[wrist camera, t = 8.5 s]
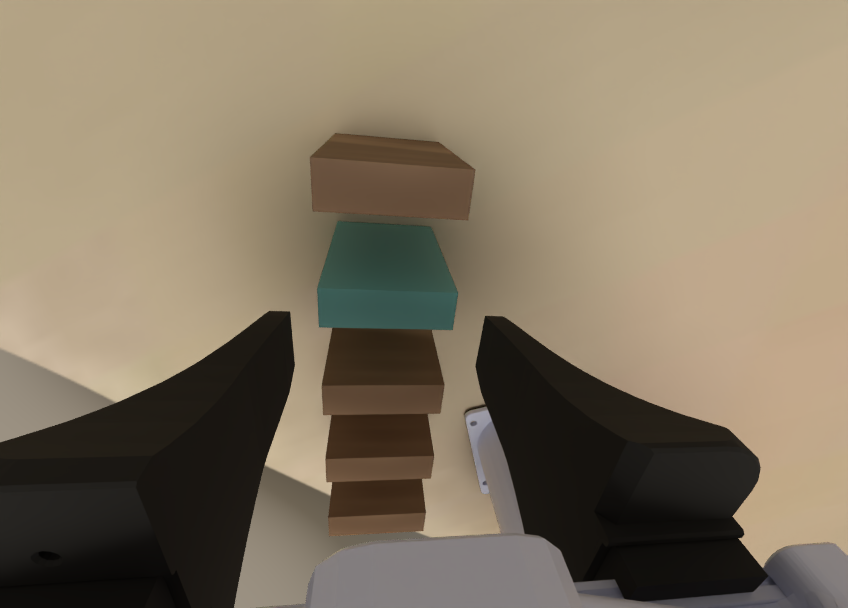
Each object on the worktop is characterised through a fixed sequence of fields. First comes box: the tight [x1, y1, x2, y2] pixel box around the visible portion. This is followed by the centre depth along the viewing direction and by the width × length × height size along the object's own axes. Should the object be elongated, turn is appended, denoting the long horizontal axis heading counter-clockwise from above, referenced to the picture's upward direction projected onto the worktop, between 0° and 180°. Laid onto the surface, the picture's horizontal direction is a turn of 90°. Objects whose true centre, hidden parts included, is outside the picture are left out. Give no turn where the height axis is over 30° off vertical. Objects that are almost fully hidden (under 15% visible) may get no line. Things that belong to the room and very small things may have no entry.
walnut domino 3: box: [325, 414, 434, 482], centre depth 22 cm, size 2×5×8 cm, turn 85°
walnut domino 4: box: [328, 479, 426, 536], centre depth 24 cm, size 2×5×8 cm, turn 85°
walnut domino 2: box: [322, 328, 444, 415], centre depth 19 cm, size 2×5×8 cm, turn 85°
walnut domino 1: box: [310, 133, 475, 220], centre depth 15 cm, size 2×5×8 cm, turn 85°
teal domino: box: [317, 221, 458, 330], centre depth 17 cm, size 2×5×8 cm, turn 85°
